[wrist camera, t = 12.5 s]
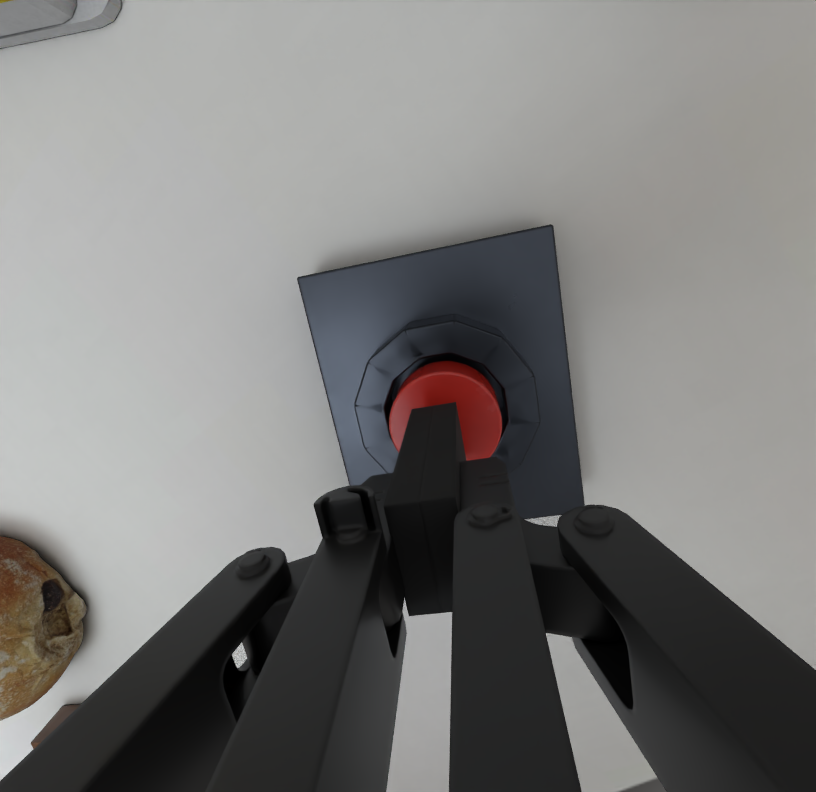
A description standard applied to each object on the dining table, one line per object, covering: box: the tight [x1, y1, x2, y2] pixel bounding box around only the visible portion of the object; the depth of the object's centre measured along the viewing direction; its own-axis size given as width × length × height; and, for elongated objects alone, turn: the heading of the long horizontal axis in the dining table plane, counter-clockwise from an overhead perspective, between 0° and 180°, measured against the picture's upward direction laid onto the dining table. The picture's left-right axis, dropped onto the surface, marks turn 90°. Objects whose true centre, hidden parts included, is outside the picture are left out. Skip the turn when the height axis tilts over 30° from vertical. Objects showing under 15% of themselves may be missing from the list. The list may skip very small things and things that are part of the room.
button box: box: [297, 225, 585, 519], centre depth 21 cm, size 12×10×4 cm
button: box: [389, 361, 502, 461], centre depth 18 cm, size 4×4×2 cm
